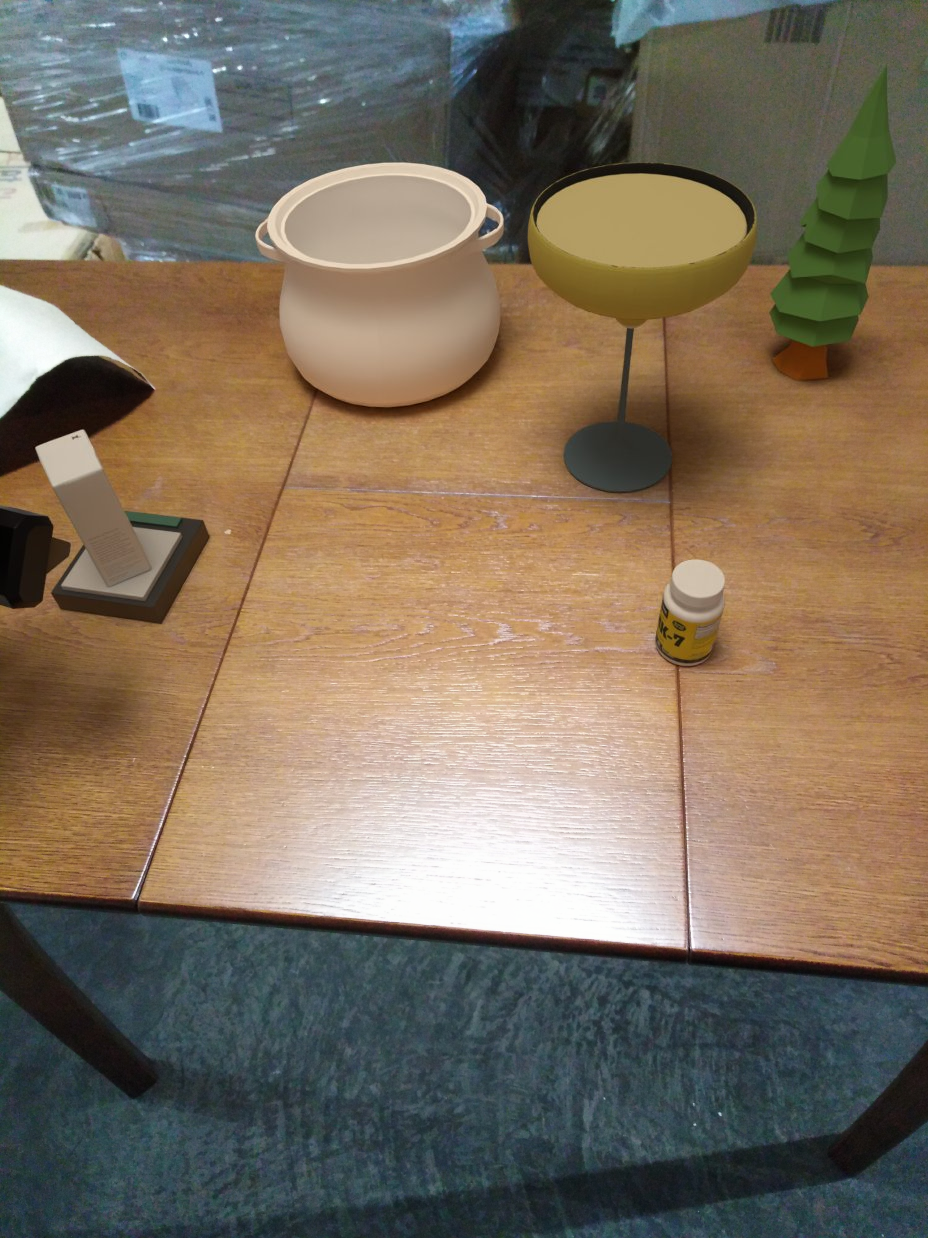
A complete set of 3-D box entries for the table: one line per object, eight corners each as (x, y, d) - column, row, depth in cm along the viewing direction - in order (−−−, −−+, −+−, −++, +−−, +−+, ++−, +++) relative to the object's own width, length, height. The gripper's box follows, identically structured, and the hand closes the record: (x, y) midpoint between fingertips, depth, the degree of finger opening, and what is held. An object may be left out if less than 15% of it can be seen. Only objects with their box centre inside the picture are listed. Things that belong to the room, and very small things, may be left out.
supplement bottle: (643, 635, 75) (654, 567, 69) (691, 615, 76) (706, 546, 70) (675, 676, 72) (690, 609, 66) (724, 655, 73) (743, 587, 67)
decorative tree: (776, 393, 95) (856, 84, 72) (741, 344, 101) (805, 44, 78) (862, 378, 96) (968, 67, 73) (822, 331, 102) (909, 29, 79)
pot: (504, 293, 111) (501, 151, 98) (508, 416, 95) (505, 267, 82) (300, 302, 112) (270, 163, 99) (270, 425, 96) (230, 280, 83)
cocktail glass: (696, 399, 95) (739, 155, 76) (722, 517, 84) (780, 265, 64) (526, 403, 96) (526, 164, 77) (528, 520, 85) (529, 274, 66)
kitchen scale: (60, 608, 81) (47, 588, 79) (115, 524, 88) (105, 503, 85) (161, 623, 79) (151, 602, 77) (209, 536, 86) (201, 515, 84)
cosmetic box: (88, 548, 82) (32, 445, 72) (133, 530, 83) (84, 426, 74) (106, 590, 78) (50, 487, 69) (153, 570, 79) (104, 466, 70)
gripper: (-39, 424, 50) (138, 454, 65) (-279, 369, 55) (-63, 409, 70) (-65, 617, 51) (114, 603, 66) (-296, 547, 56) (-81, 549, 71)
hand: (19, 536), depth 68 cm, fingers open, 9 cm apart
